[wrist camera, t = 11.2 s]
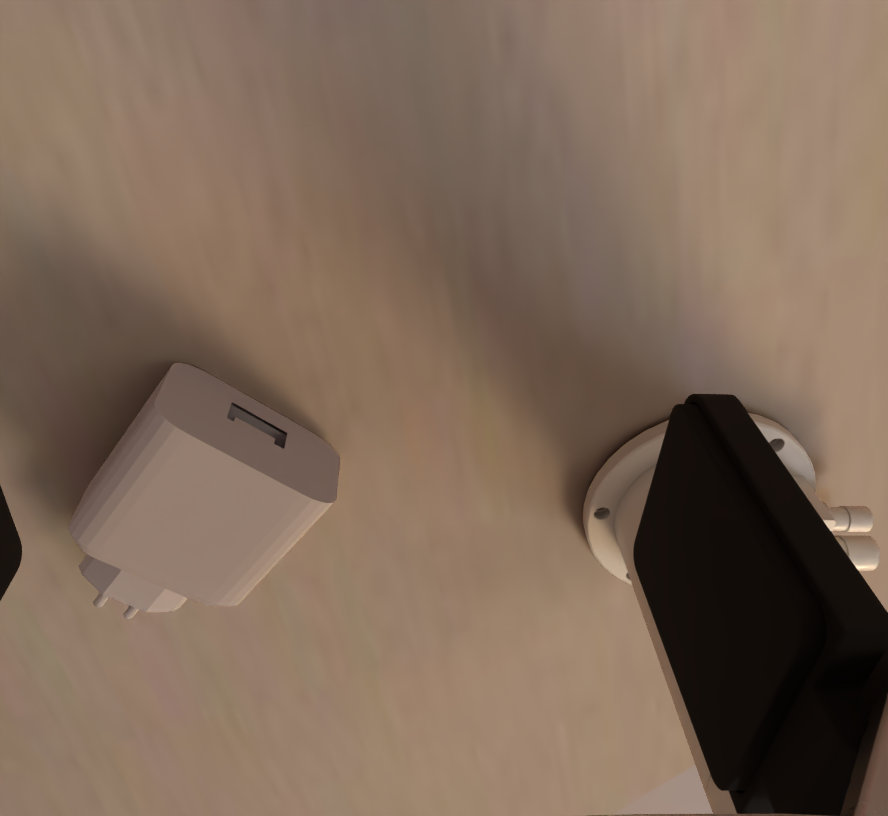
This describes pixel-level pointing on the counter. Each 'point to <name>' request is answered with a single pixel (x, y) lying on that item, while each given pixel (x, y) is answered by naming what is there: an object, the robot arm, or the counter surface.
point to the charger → (200, 497)
